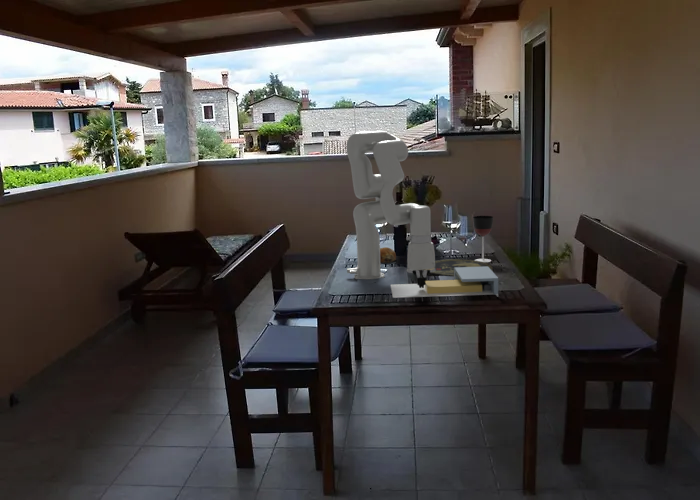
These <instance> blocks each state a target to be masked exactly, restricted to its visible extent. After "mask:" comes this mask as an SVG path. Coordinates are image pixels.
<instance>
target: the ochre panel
mask: <svg viewBox="0 0 700 500" xmlns="http://www.w3.org/2000/svg"><path fill="white" fill-rule="evenodd" d="M425 281H426V285H425V288H426V291H427V293H457V292H482V285H481V283H480V282H479V281H475V282H462V281H461V280H454V279H445V280H444V279H437V280H425Z"/></svg>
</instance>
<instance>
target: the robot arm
mask: <svg viewBox="0 0 700 500" xmlns="http://www.w3.org/2000/svg"><path fill="white" fill-rule="evenodd" d="M368 153H373V158H374V161H375V163H376V166H377V169H378V171H379V173H378V174H377V173H376V174H374V171H373V164H372V162H371V160H370V158H369V157H368V156H367V155H366V154H368ZM346 155H347V157H348V161H349V164H350V170H351V171H350V172H351V176H352V177H351V180H352V186H353V193H354V195H355V197H356V198H357V199H360V200H368V199H369V200H370V199H375V200H374V201H373V200H372V201H366V202H365V201H364V202H361V203H359V204H357V205H356V206H354V208H353V211H352V216H353V222H354V225H355V233H356V257H357V258H356V259H357V266H356V267H354V268H346V270H347V271H346V273H347V274H350V275H351V274H352V275H353V274H354V279H355V280H376V279H384V278H385V273H383V272H382V271H381V262H380V248H381V242H380V241H381V240H380V233H379V231H378V229H377V228H376V227H377V226H376V225H380V224H385V223H389V225H391V226H400V225H406V224H407V225H408V224H409V227H410V228H409V231H410V233H409V235H408V236H406V241H409V242H408V246H407V257H406V258H407V260H406V263H407V268H406V272H407V273H409V274H414V275H415V277H416V280H417V281H416V284H417V285H419V288H424V285H426V281H427V280H426V278H427V276H429V275H428V274H429V273H430V272H434V271H436V269H435V261H436V254H435V246H434V245H435V244H434V242H432V236H431V235H432V232H431V231H432V230H431V225H432V224H431V223H432V220H431V214H432V213H431V208H430V206H428V205H420V204H418V203H414V202H408V203H402V204H396V203H395V200H394V196H393V190H394V188H395V187H396V185H399V184H400V183H401V182H402V181H403V180H404V179H405V172H404V171H403V168H402V165H401V163H400V162H403V161H406V159H407V158H408V156H409V149H408V146H407V144H406V143H405V141H404V140H402V139H401V138H399V137H398V136H396V135H394V134H392V133H390V132H389V131H387V130H366V131H365V130H364V131H357V132H353V133H352V134H351V135H350V136H349V137H348V138H347V140H346ZM420 271H422V274H420Z"/></svg>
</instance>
